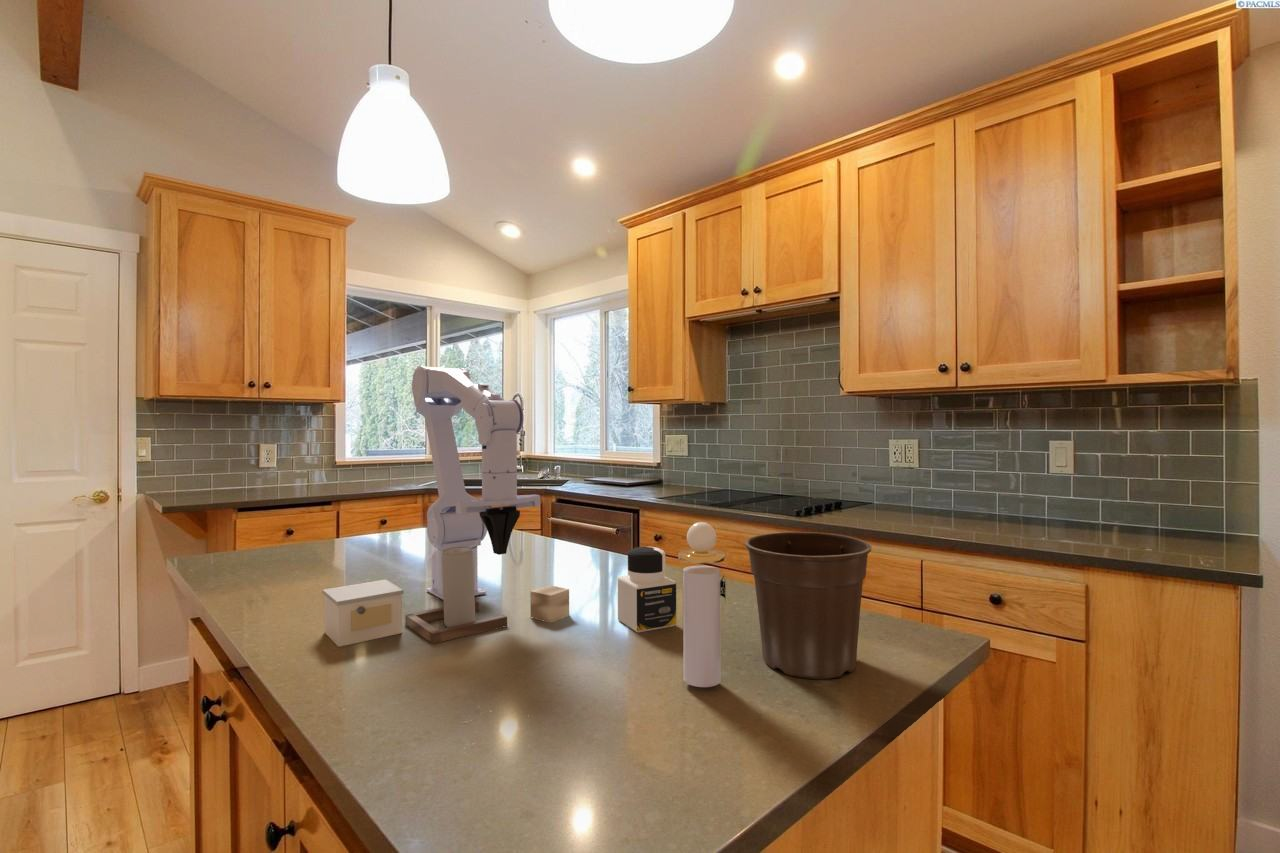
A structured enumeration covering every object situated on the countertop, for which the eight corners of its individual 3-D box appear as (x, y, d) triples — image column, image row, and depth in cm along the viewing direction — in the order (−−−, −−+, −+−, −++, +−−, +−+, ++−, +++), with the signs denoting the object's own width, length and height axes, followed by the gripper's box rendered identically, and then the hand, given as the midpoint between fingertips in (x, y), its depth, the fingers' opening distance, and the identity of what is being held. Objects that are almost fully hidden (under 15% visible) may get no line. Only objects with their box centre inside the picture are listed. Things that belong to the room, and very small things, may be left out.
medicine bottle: (637, 633, 93) (636, 555, 93) (617, 620, 100) (616, 546, 100) (677, 626, 97) (677, 550, 97) (655, 613, 103) (655, 542, 103)
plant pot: (758, 688, 74) (757, 555, 74) (736, 640, 90) (736, 531, 90) (892, 687, 74) (892, 554, 74) (846, 640, 90) (846, 530, 90)
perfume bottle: (697, 700, 71) (697, 527, 71) (669, 682, 76) (668, 521, 76) (735, 688, 74) (735, 523, 74) (705, 672, 79) (705, 517, 79)
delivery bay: (405, 624, 98) (405, 615, 98) (475, 609, 106) (475, 600, 106) (432, 643, 89) (432, 633, 89) (507, 626, 97) (507, 616, 97)
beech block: (530, 618, 101) (530, 591, 101) (549, 611, 105) (549, 585, 105) (550, 623, 98) (550, 595, 98) (569, 616, 102) (569, 589, 102)
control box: (322, 632, 94) (322, 589, 94) (385, 619, 100) (385, 579, 100) (338, 648, 87) (337, 602, 87) (404, 633, 93) (404, 590, 93)
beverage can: (478, 618, 100) (476, 545, 100) (470, 629, 95) (468, 552, 95) (449, 619, 100) (446, 546, 100) (439, 630, 95) (436, 553, 95)
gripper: (468, 476, 94) (469, 563, 95) (549, 471, 104) (549, 551, 104) (450, 473, 100) (450, 556, 100) (528, 468, 109) (528, 544, 109)
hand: (499, 553), depth 102 cm, fingers closed
